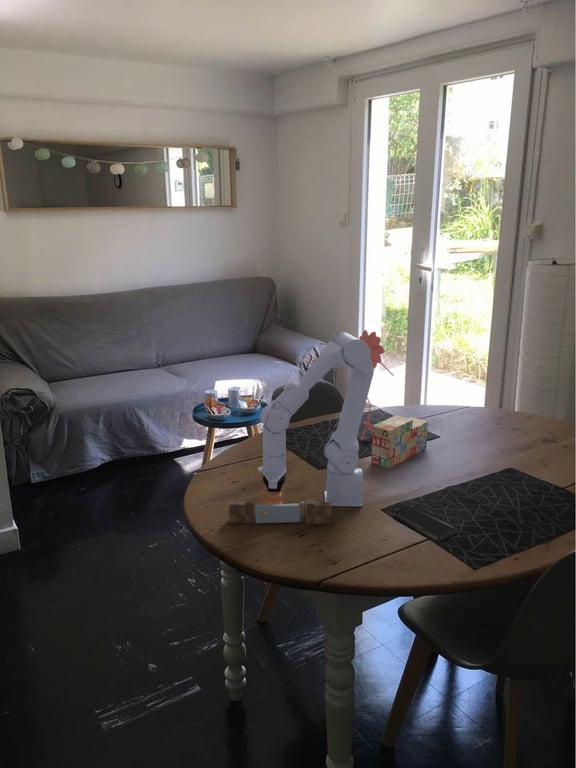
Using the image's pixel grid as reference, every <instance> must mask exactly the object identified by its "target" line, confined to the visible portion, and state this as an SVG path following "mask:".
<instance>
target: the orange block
mask: <svg viewBox="0 0 576 768" xmlns="http://www.w3.org/2000/svg"><path fill="white" fill-rule="evenodd" d="M265 504H283V492H282V491H280V492H268V491H265Z"/></svg>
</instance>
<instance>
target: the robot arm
mask: <svg viewBox="0 0 576 768" xmlns="http://www.w3.org/2000/svg"><path fill="white" fill-rule="evenodd" d="M370 354H371V350H370V348H369V347H368V346H367V344H366V343H365V342H364V341H362V340H360V339H359V338H357V337H356V336H355V335H352V334H351V333H349V332H346V331H340V332H338V333H336V334H335V335H334V336H333V338H332V340H330V341H328V342H327V344H326V345H325V347H324V349H323V350H322V352H321V353H320V355H318V357H317V358H316V359H315V360H314V362H313V363H312V364H311V365H310V366H309V368H308V369H307V370H306V371H305V373H304V374H303V375H302V377H300V379H299V380H297V381H292V382H290V383H289V384H285V385H284V386H283V388H282V389H283V391H282V392H281V393H280V394H279V395H278V396H277V397H276V398H275V399H274V400H273V399H272V401H271V402H270V404H269V405H265V407H263V409H262V410H261V411H260V412H261V413H260V414H259V415H258V417H259V419H260V422H261V423H262V424H263V425H262V466H259V467H258V469H257V472H258V473H262V476H263V477H262V481H263V483H264V485H265V487H266V490H267V492H282V491H281V490H282V488H283V485H284V484H285V481H286V473H287V465H286V463H287V461H286V460H287V458H286V455H287V451H286V450H287V448H286V447H287V445H286V442H287V435H286V429H288V428H289V426H290V420H291V417H292V416H293V415H294V414H296V412H297V411H298V410H299V409H300V407H302V406H303V404H304V403H306V402H307V400H308V399H309V394H310V393H309V392H310V390H311V389H312V388H313V387H314V386H315V385H316V384H317V383H318V382H319V381H320V380H321V379H322V378H323V377H325V375H327V373H328V372H329V371H330V370H332V369H333V368H335V369H336V368H344V367H347V368H348V369H349V371H350V372H351V373H350V377H349V381H348V385H347V389H346V392H345V396H344V397H345V398H344V401H343V404H342V407H341V413H340V415H339V420H338V423H337V428H336V430H335V431H334V432H332V433H331V434H330V435H331V436H330V438H329V441H328V442H327V443H326V444H325V445H324V448H323V454H324V457H325V458H326V459H327V465H326V490H324V492H323V493H324V494H323V495H324V502H331V505H332V507H360V508H361V507H362V506H363V495H364V489H363V485H364V475H363V469H362V468H359V463H360V459H359V451H360V446H359V440H358V433H359V429H360V426H361V424H362V418H363V415H364V411H365V406H366V404H367V401H368V400H367V397H368V395H369V392H370V388H371V385H372V381H373V377H374V374H375V369H374V367H373V363H372V359H371V355H370ZM344 362H345V363H344ZM345 364H346V365H347V366H346V365H345Z"/></svg>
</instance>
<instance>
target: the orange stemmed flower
mask: <svg viewBox="0 0 576 768" xmlns="http://www.w3.org/2000/svg"><path fill="white" fill-rule="evenodd" d="M358 339H360V340H362V341H364V342H365V343H366V344H367V346H368V347H369V348H370V350H371V354H370V355H371V359H372V363H373V367H374V370H375V369H376V368H377V365H378V364H380V365H382V366H383V367H384V368H385V370H386V371H387V372H389V374H390V375H392V376H393V377H394V374H393V373H392V372H391V371H390V370H389V369H388V367H386V365H384V363H383V362H382V356H381V355H382V354H385V349H384V347H383V345H381V342H382V339H381V337H380V336H377V333H376V331H372V332H370V333H368V330H367V329H363V331H362V334H361V335H360V336H359V337H358ZM344 363H345V362H344ZM345 365H346V364H345ZM345 367H348V366H347V365H346V366H345ZM366 401H368V404H369V405H368V416H367V417H368V418H367V421H364V424H365V427H364V430H363V432H362V435H361V437H360V441H363V439H364V436H365V434H366V431H367V428H368V429H369V431H370V432H371V434H373V425H375V424H374V423H373V424H372V423H370V418H371V407H372V406H371V401H370V400H369V398H368V396H367V400H366Z"/></svg>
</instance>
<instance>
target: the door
mask: <svg viewBox="0 0 576 768" xmlns="http://www.w3.org/2000/svg"><path fill="white" fill-rule="evenodd" d="M254 520H255V524H279V523H282V524H283V523H305V522H306V502H305V501H300V502H299V503H282V504H254Z"/></svg>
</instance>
